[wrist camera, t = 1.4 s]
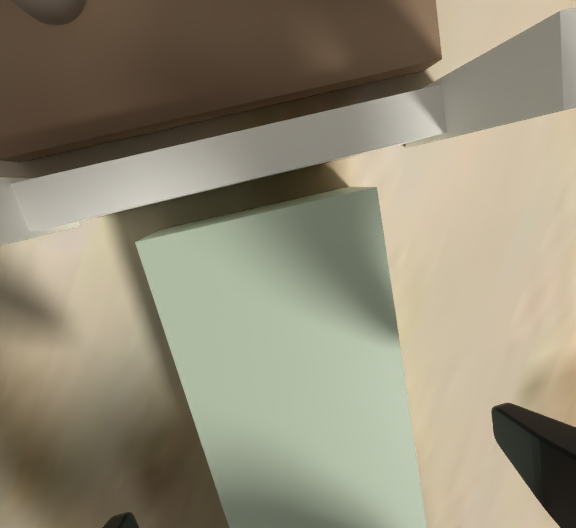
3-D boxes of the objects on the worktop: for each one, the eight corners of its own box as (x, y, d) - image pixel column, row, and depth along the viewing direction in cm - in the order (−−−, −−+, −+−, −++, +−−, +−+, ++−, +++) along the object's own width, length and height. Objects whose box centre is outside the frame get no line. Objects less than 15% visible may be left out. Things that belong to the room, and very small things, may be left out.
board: (392, 461, 15) (426, 528, 12) (246, 502, 15) (246, 581, 12) (345, 186, 12) (376, 187, 9) (162, 228, 12) (134, 242, 9)
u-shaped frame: (447, 138, 12) (644, 91, 6) (33, 237, 11) (-212, 296, 5) (442, 91, 11) (645, -8, 6) (13, 190, 11) (-274, 196, 5)
